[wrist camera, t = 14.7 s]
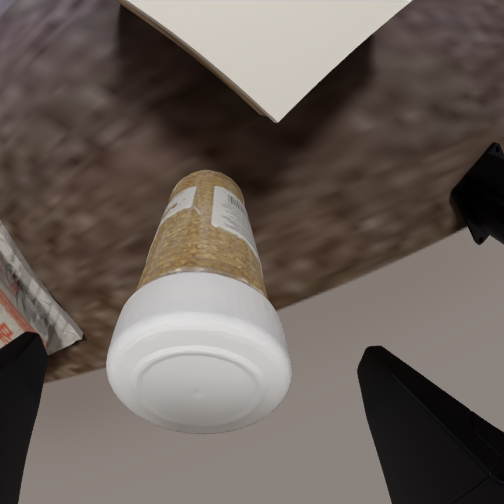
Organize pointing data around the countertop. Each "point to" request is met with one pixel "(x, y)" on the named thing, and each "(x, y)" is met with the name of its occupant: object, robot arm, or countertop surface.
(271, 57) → the lid
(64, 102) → the countertop surface
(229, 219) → the sprinkles bottle
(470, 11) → the countertop surface
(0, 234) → the packaged product
